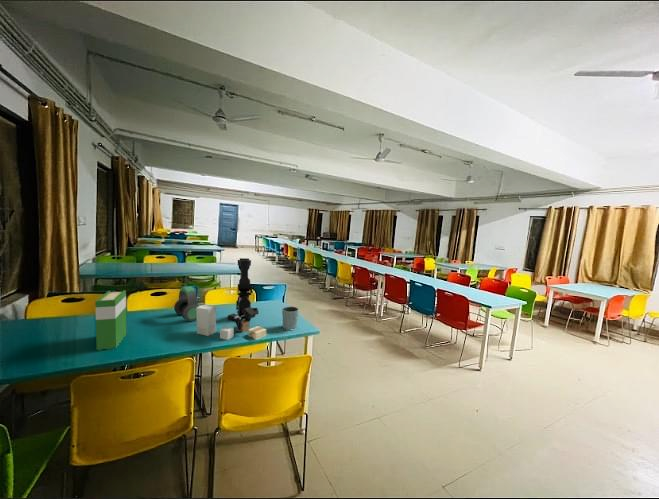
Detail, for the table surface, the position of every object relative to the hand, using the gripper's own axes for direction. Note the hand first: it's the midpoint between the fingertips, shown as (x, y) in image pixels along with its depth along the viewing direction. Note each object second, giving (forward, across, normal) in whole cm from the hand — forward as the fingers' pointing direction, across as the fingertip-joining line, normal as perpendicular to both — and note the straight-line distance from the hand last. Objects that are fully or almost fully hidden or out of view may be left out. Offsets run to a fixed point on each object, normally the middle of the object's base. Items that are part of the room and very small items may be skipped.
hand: (243, 328), depth 159 cm
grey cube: (+1, -12, -1) cm, 12 cm away
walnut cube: (+1, 0, 0) cm, 1 cm away
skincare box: (+1, -16, +12) cm, 20 cm away
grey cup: (+1, +21, -18) cm, 28 cm away
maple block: (+1, 0, -12) cm, 12 cm away
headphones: (+1, -10, +41) cm, 42 cm away
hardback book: (+1, -51, +37) cm, 63 cm away
